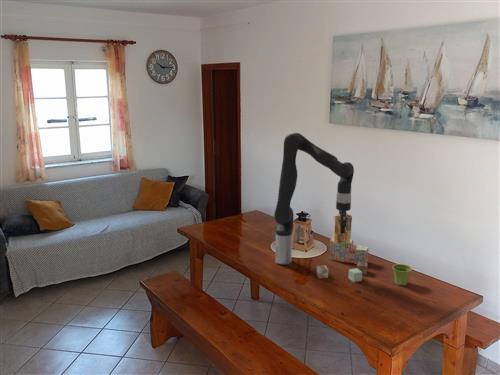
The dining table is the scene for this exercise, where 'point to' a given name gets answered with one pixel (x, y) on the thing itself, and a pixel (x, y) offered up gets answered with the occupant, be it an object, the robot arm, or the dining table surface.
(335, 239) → the candy box
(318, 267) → the birch cube
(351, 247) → the stack of blocks
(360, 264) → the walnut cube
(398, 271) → the plant pot
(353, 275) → the sage cube
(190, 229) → the dining table surface
